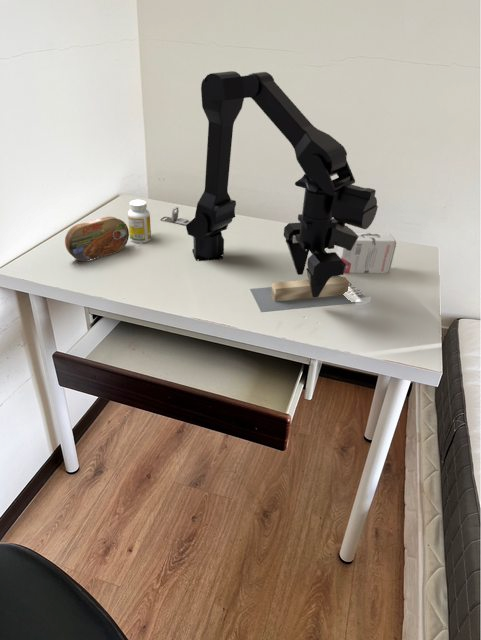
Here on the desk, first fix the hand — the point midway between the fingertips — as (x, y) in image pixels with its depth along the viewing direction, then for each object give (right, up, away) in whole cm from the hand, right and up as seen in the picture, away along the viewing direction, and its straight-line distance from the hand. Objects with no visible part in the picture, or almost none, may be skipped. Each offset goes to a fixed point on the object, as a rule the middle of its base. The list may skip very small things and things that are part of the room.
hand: (307, 285), depth 96 cm
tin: (-47, +8, +14) cm, 50 cm away
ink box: (+8, +8, +10) cm, 16 cm away
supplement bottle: (-39, +13, +22) cm, 47 cm away
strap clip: (-32, +20, +32) cm, 49 cm away
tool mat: (0, -2, +2) cm, 3 cm away
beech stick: (+1, -2, +2) cm, 3 cm away
